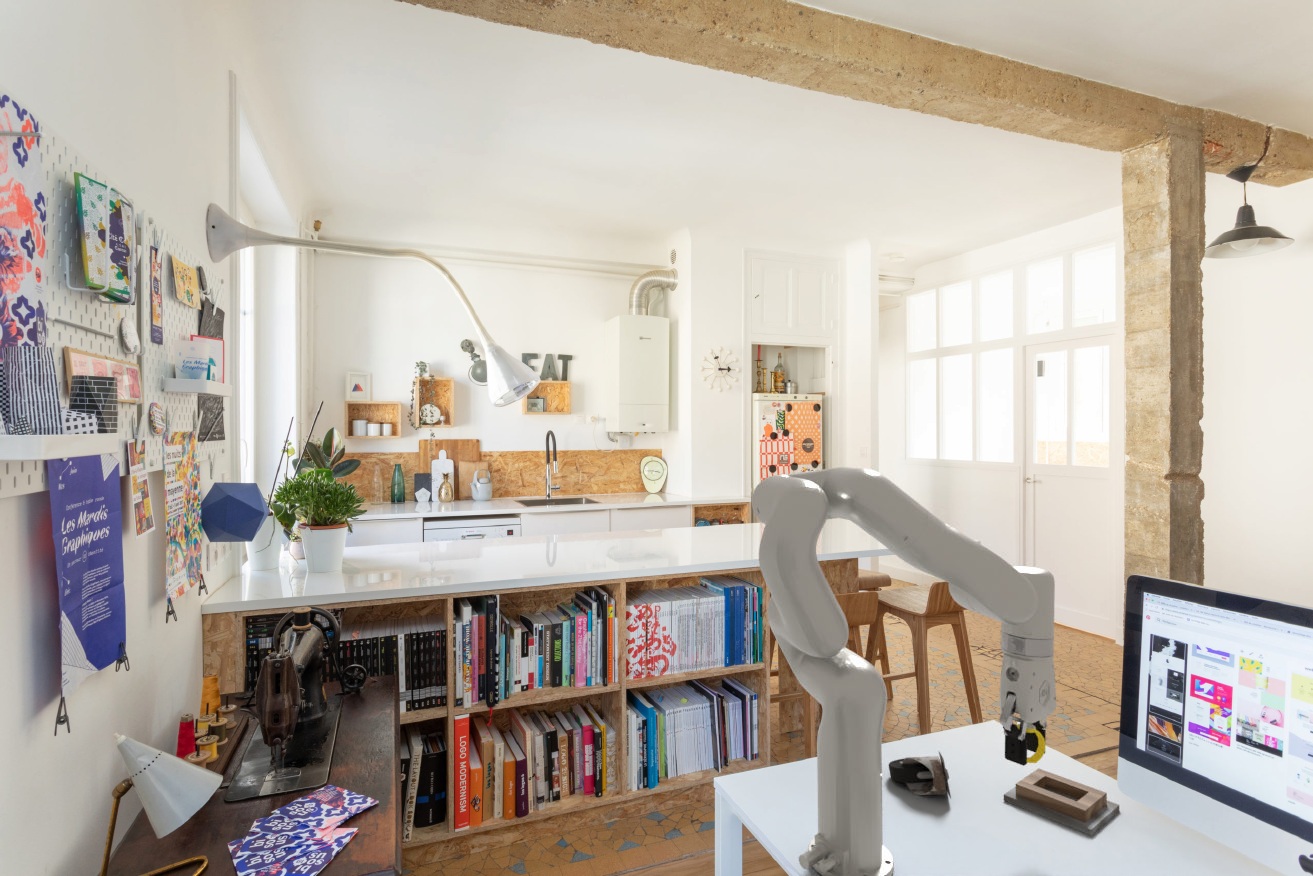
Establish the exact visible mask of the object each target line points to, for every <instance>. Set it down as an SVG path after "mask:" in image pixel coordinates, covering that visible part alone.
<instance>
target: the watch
mask: <svg viewBox="0 0 1313 876" xmlns="http://www.w3.org/2000/svg"><path fill="white" fill-rule="evenodd" d="M1015 725H1017V727H1018V729H1019V727H1020V722H1017V721H1016V724H1015ZM1026 732H1028V733H1034V732H1035V733H1036V735H1037V737H1038V743H1039V746H1038V748H1037V751H1036V753H1035V752H1034V754H1033V755H1032V756H1031V757H1027V764H1036V763H1038V762H1039V761H1040V760H1041V759H1042V758H1043V757H1044V755H1045V754H1044V752H1045V753H1046V739H1044V738H1043V736H1042V734H1041V733H1040V732H1039V731H1037V730H1036V727H1035V726H1034V725H1032V724H1028V723H1027V727H1026ZM1044 740H1045V741H1044Z"/></svg>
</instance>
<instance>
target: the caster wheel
mask: <svg viewBox="0 0 1313 876" xmlns="http://www.w3.org/2000/svg"><path fill="white" fill-rule="evenodd" d="M888 769H889V775H890V779H891V780H893V781H894V782H897V783H902V784H903V783H904V784H906V786H907V788H908V790H909V791H911V792H912V793H913V794H915V795H917V796H926V795H928V796H929V795H946V793H947V794H948V797H949V799H950V800H951V799H952V796H951V790H950V784H949V779H950V776H949V771H948V769H947V768H946V765H945V759H944V756H943V755H942V752H940V750H938V756H937V755H934V756H933V755H932V756H915V757H914V756H912V757H911V756H909V757H904V758H900V759H895V760H892V761H890V762H889V763H888Z"/></svg>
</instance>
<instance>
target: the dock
mask: <svg viewBox="0 0 1313 876" xmlns="http://www.w3.org/2000/svg"><path fill="white" fill-rule="evenodd" d="M1107 794H1108V793H1107V792H1106V791H1103V790H1100V789H1097V788H1095V787H1091V786H1089V785H1086V784H1083V783H1080V782H1077V781H1075V780H1072V779H1069V778H1067V777H1064V776H1061V775H1058V774H1055V773H1052V772H1050V771H1047V770H1044V769H1041V768H1037V769H1036V770H1034V771H1033V772H1031V773H1030V774H1028V775H1027V776H1025V777H1024V778H1022V779H1021V780H1019V781H1018V782H1016V783H1015V787H1013V788H1011V789H1009V790H1008V791H1007V792H1004V794H1003V801H1004V802H1007V803H1009V804H1011V805H1014V806H1017V807H1020V808H1022V809H1024V810H1027V811H1030V812H1031V813H1034V814H1036V815H1039V816H1041V817H1043V818H1046V819H1049V820H1051V821H1052V822H1053V821H1054V822H1056V823H1059V824H1061V825H1063V826H1066V827H1068V828H1071V829H1073V830H1075V831H1078V832H1081V833H1083V834H1086V835H1088V836H1089V837H1091V836H1093V835H1094V834H1096V832H1097V831H1098V830H1099V829H1101V828H1102V827H1103V826H1104V825H1105V824H1107V823H1108V821H1109V820H1111V819H1112V818H1113V817H1114V816H1115V815H1116V814H1117V813H1118V812H1120V804H1117V803H1115V802H1113V801H1110V800H1107V799H1108V796H1107Z"/></svg>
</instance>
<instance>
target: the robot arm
mask: <svg viewBox="0 0 1313 876" xmlns="http://www.w3.org/2000/svg"><path fill="white" fill-rule="evenodd" d="M751 508H752V510H753V513H754V515H755V516H756V518H757V520H759V521H760V522H761V523H762V524H764V527H763V530H762V535H761V538H760V542H759V548H758V562H759V569H760V571H761V575H762V578H763V579H764V582H765V585H766V587H767V589H768V591H769V593H770V598H769V600H768V603H767V610H766V612H767V613H766V614H767V620H768V625H769V627H770V629H771V632H772V634H773V636H774V637H775V640H776V641H777V643H778V646H779V648H780V650H781V651H782V653H783V655H784V658H785V659H786V661H787V663H788V665H789V667H790V669H791V671H792V672H793V675H795V678H796V679H797V681H798V683H799V684H800V685H801V686H802V688H803V689H804V690H805V691H806V692H807V693H808V694H809V695H811V696H812V697H813V698H814V700H816V701H817V702H818V703H819V704H820V705H821V707H822V713H821V714H822V715H821V721H820V723H819V727H818V731H817V737H816V741H817V742H816V759H817V760H816V761H817V763H816V764H817V766H816V767H817V770H816V771H817V775H816V776H817V779H816V780H817V833H816V834H814V838H813V839H812V840H811V841H810V842H809V844H808V847H807V851H805V852H804V853H802V854H800V855H799V856H798V862H799V865H800V867H801V868H802V869H803V870H806V871H807V870H809V869H810V868H813V869H814V870H815V872H817V873H819V874H820V875H821V876H893V873H894V872H895V871H894V870H895V869H894V868H895V867H894V865H895V864H894V863H895V862H894V857H893V855H892V853H891V852H890V851H889V849H888V848H887V847H886V846H885V845H884V843H883V842H884V841H883V836H884V835H883V768H882V767H883V766H882V765H883V763H882V750H883V749H882V743H883V742H882V740H883V729H884V721H885V715H886V710H887V705H888V704H887V703H888V691H887V686H886V683H885V681H884V679H883V677H882V674H880V672H879V671H878V670H877V668H876V667H875V666H874V665H873V664H872V663H871V662H869V661H868V660H866V659H865V658H864V657H862V656H860V655H858V654H857V653H856V652H854V651H853V650H850V649H849V648H847V647H846V645H847V643H848V641H849V633H850V632H849V631H850V630H849V629H850V628H849V625H848V624H849V623H848V620H847V618H846V615H845V612H844V611H843V609H842V607H841V605H840V604H839V602H838V600H837V598H836V596H835V593H834V592H833V590H832V588H831V587H830V584H829V582H828V580H827V578H826V576H825V575H824V572H823V570H822V568H821V565H820V562H819V560H818V556H817V544H818V539H819V537H820V534H821V532H822V530H823V528H824V526H825V524H826V521H827V520H831V519H837V518H840V519H843V520H847V521H850V522H852V523H854V524H855V525H856V526H857V527H859V528H860V529H862V530H863V531H864V532H865V533H867V534H868V535H870V536H871V537H873V538H874V539H875V540H876V541H877V542H879V543H880V544H882V546H884V547H885V548H887V549H888V550H889V551H890V552H892V553H893V554H894V555H895V556H896V557H898V558H899V559H900V560H902V561H904V563H906V564H908V565H910V566H912V567H913V568H915V569H917V570H919V571H921V572H923V573H926V574H927V575H930V576H933V577H935V578H938V579H940V580H942V581H944V582H947V583H948V591H949V594H950V596H951V598H952V599H953V601H955V602H956V603H957V604H958V605H959V606H960V607H962V608H964V609H966V610H969V611H970V612H971V611H972V612H974V613H977V614H979V615H982V616H985V617H988V618H990V619H992V620H995V621H998V622H1000V623H1001V625H1000V651H1001V653H1003V655H1002V660H1001V671H1000V681H999V683H1000V684H999V711H1000V716H999V719H998V720H999V721H998V722H999V723H1000V725H1001V726H1002V729H1003V735H1004V758H1005V760H1008V761H1010V762H1012V763H1016V764H1018V765H1021V766H1023V767H1024V766H1026V765H1027V764H1028V763H1027V758H1028V751H1030V752H1033V753H1034V754H1035V753H1036V751H1037V748H1038V746H1039V743H1038V737H1037V735H1036V733H1035V732H1034V733H1028V732H1026V727H1027V723H1028V724H1032V725H1034V726H1035V727H1036V730H1037V731H1039V732H1040V733H1041V734H1042V736H1043V738H1044V739H1045V740H1044V741H1045V742H1046V738H1047V737H1046V729H1047V727H1048V723H1047V722H1048V721H1047V717H1049V716H1051V714H1054V713H1055V711H1056V708H1057V699H1056V697H1057V696H1056V695H1057V693H1056V689H1057V687H1056V672H1055V663H1054V650H1055V649H1054V648H1055V646H1054V645H1055V641H1054V640H1055V592H1056V591H1055V587H1056V585H1055V583H1056V582H1055V577H1054V575H1053V573H1052V572H1051V571H1049V570H1047V569H1044V568H1040V567H1035V566H1024V565H1015V566H1013V565H1011V564H1010V563H1009V562H1008V561H1006V560H1005V559H1004V558H1002V556H999V555H998V554H997V553H996V552H993V551H992V550H991V549H989V548H987V547H986V546H984V545H982V544H981V543H979V542H977V541H976V540H974V539H973V538H970V537H969V536H968V535H965V534H964V533H963V532H961V531H960V530H958V529H956V528H955V527H953V526H952V525H949V524H948V523H946V522H944V521H943V520H941V519H939V518H938V517H937V516H936V515H935V514H933V513H932V512H930V511H929V510H928V509H927V508H925V507H924V506H923V505H921V504H920V503H919V502H918V501H916V500H915V499H914V498H913V497H912V496H910V495H909V494H908V493H906V492H905V491H904V490H903V489H901V488H900V487H899V486H897V484H895V483H894V482H893V481H892V480H890V479H888V478H887V477H886V476H885V475H883V474H882V473H880V472H878V471H876V470H874V469H870V468H864V467H863V468H862V467H861V468H860V467H859V468H858V467H849V466H846V467H845V466H843V467H841V466H840V467H830V468H826V469H825V468H824V469H818V470H810V471H801V472H793V473H792V472H791V473H785V474H783V473H782V474H775V475H771V476H768V477H766V478H764V479H763V480H761V481H760V482H759V483H758V484H757V485H756V487H755V488H754V490H753V493H752V496H751ZM1015 714H1018V715H1019V717H1018V716H1014V715H1015ZM1014 721H1015V722H1016V723H1017V722H1020V727H1019V729H1018V727H1017V725H1016V724H1015V723H1014ZM1045 754H1046V751H1045V752H1044V754H1043V755H1045Z"/></svg>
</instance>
